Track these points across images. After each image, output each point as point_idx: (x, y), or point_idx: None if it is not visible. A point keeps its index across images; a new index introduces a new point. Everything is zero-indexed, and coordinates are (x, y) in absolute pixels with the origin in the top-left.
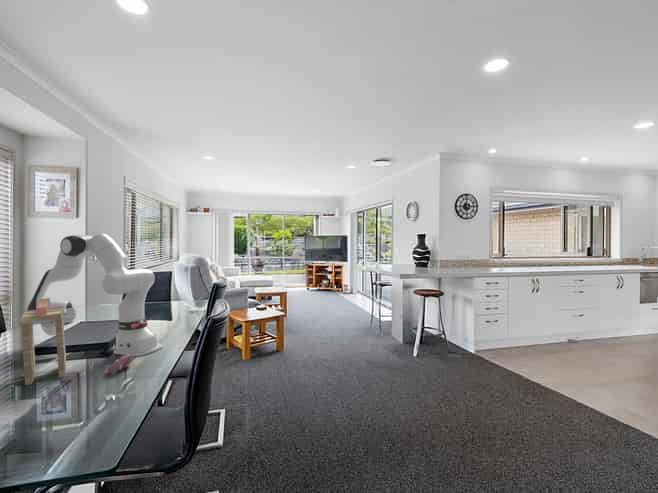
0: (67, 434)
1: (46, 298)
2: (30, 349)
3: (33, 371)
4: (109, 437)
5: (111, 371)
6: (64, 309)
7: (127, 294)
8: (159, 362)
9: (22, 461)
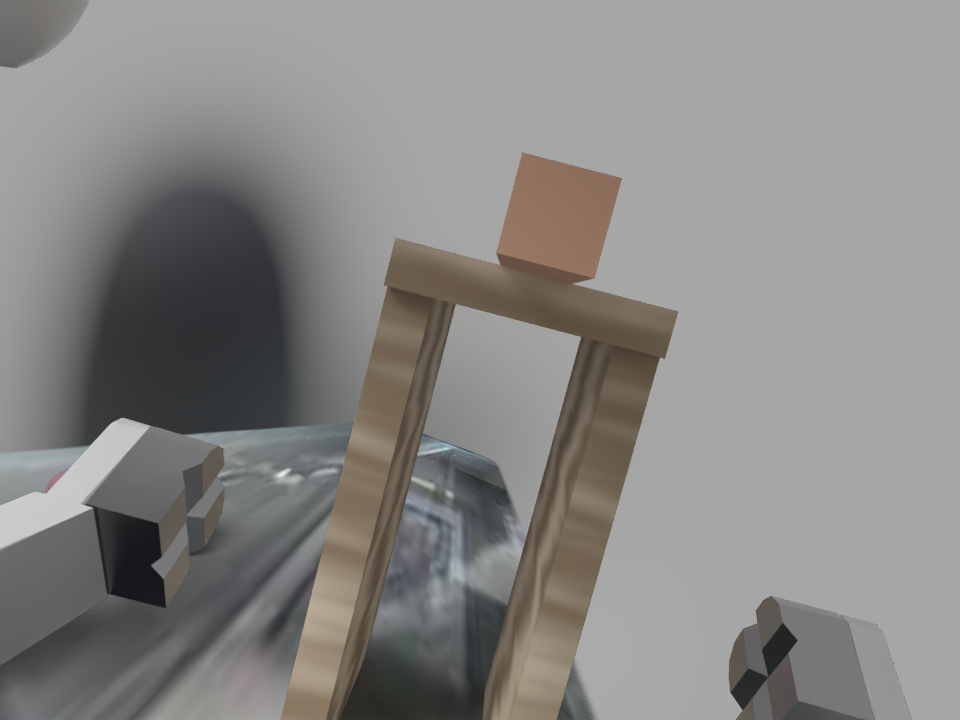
0: (414, 467)
1: (560, 164)
2: (537, 507)
3: (492, 703)
4: None
5: None
6: (18, 524)
7: None
8: None
9: (481, 471)
